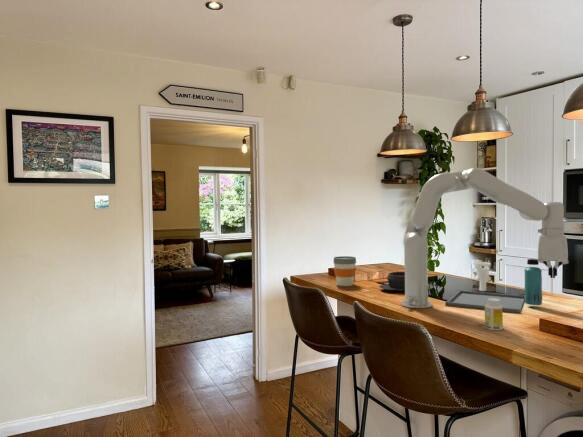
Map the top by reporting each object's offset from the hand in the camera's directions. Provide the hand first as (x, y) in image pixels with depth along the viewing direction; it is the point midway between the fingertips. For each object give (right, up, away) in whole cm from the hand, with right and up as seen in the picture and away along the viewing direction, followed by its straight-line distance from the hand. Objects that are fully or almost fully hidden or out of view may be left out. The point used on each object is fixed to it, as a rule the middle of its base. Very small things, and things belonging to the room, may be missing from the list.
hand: (552, 277), depth 169 cm
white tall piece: (-11, -12, +39) cm, 42 cm away
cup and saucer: (-49, -13, +44) cm, 67 cm away
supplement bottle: (-36, -15, -24) cm, 45 cm away
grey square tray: (-21, -13, +14) cm, 28 cm away
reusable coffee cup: (-76, -13, +62) cm, 99 cm away
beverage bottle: (-5, -13, +4) cm, 15 cm away
